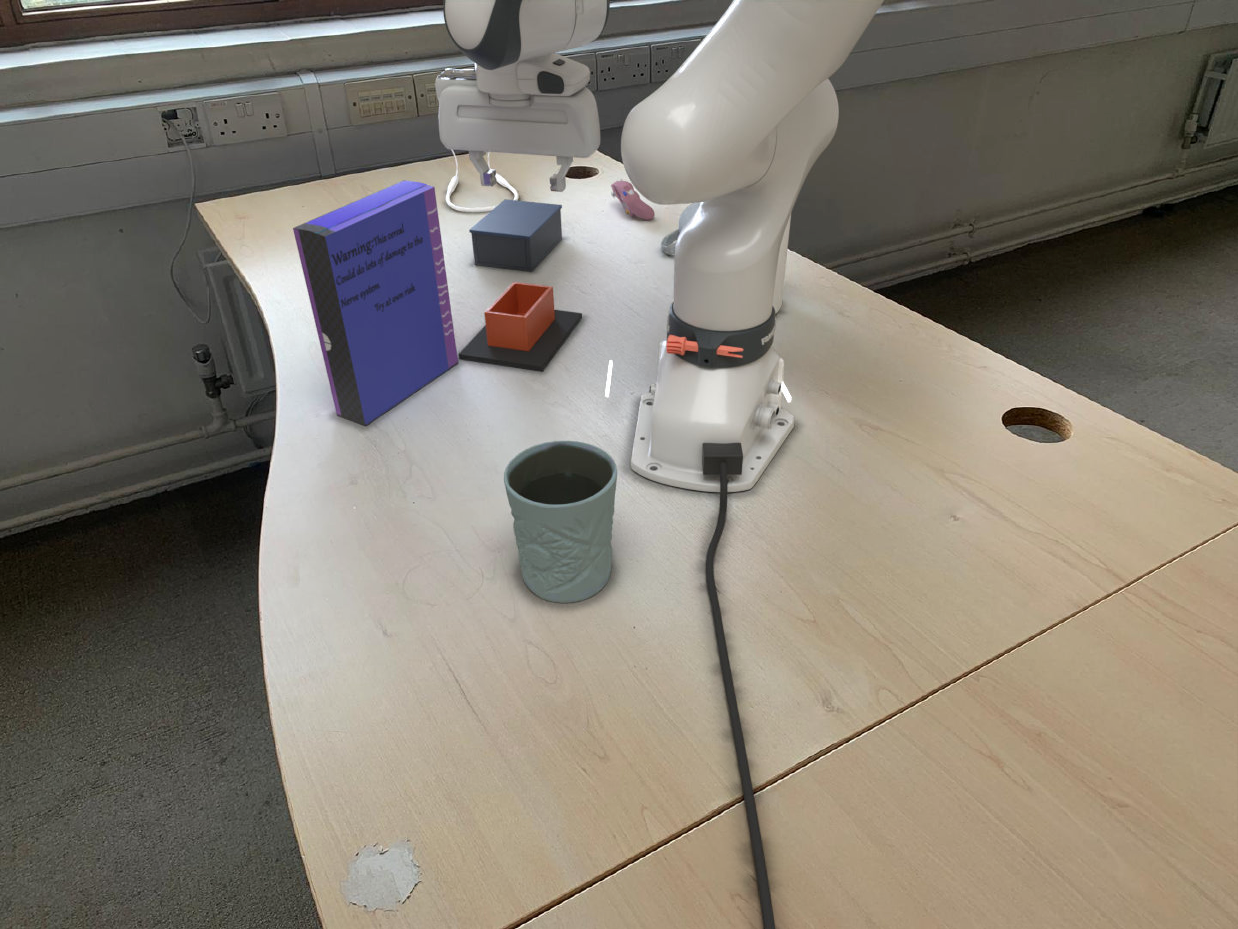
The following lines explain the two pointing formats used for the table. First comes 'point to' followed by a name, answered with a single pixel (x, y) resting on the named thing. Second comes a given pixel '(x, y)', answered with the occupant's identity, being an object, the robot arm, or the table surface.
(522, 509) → the green embossed cup
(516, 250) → the storage box
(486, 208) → the earphone
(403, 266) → the purple flat upright box
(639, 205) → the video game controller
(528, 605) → the table surface
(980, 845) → the table surface
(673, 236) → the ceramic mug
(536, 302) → the top tub
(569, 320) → the mat
